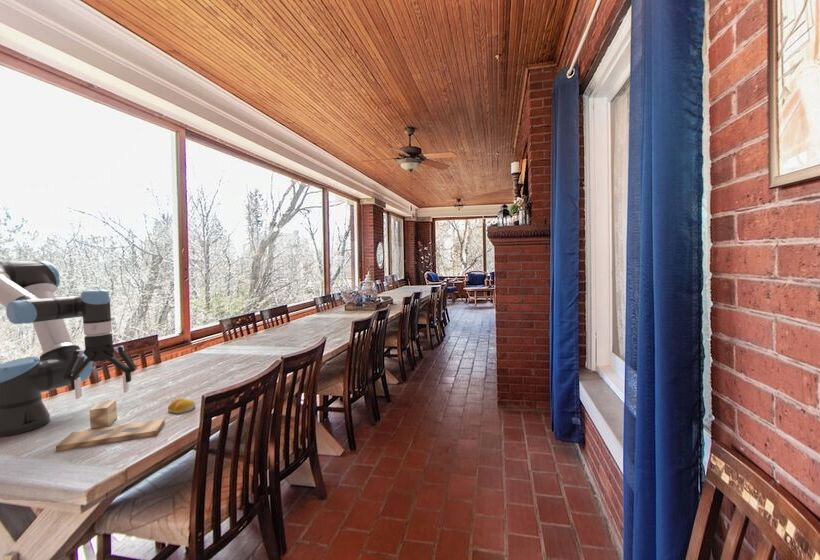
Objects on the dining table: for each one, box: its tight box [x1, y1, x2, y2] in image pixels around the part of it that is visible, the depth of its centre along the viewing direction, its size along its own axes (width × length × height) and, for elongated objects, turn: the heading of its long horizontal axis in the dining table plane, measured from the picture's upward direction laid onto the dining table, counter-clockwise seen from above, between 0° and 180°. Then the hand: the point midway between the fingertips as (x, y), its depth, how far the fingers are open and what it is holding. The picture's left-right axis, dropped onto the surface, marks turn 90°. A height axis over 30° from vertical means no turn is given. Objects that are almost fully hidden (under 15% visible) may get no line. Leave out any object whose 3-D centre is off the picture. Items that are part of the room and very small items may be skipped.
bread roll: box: [167, 398, 196, 414], centre depth 145 cm, size 8×9×4 cm
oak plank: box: [55, 418, 166, 452], centre depth 124 cm, size 26×10×2 cm, turn 111°
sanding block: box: [88, 399, 118, 430], centre depth 133 cm, size 5×8×7 cm, turn 21°
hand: (103, 394), depth 133 cm, fingers open, 13 cm apart
